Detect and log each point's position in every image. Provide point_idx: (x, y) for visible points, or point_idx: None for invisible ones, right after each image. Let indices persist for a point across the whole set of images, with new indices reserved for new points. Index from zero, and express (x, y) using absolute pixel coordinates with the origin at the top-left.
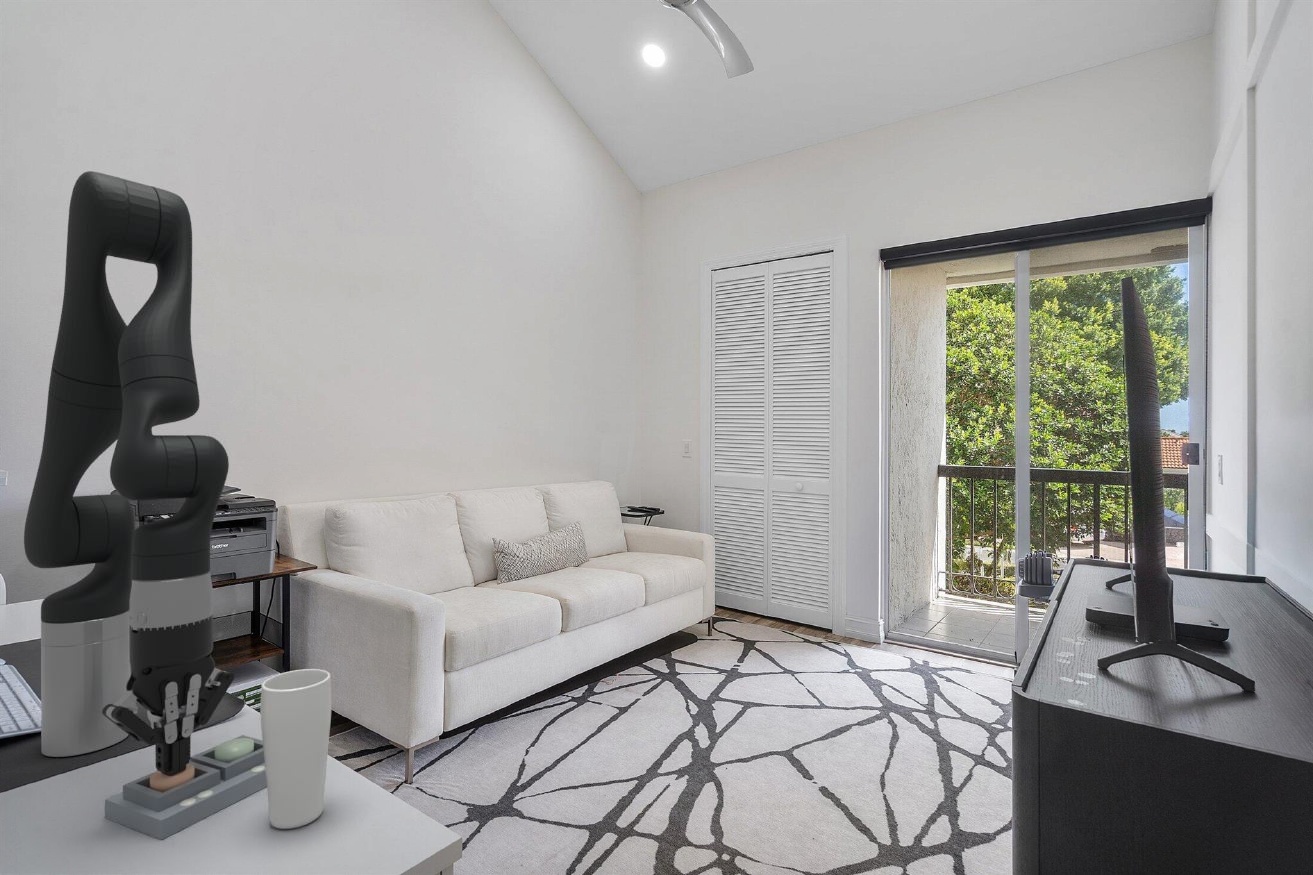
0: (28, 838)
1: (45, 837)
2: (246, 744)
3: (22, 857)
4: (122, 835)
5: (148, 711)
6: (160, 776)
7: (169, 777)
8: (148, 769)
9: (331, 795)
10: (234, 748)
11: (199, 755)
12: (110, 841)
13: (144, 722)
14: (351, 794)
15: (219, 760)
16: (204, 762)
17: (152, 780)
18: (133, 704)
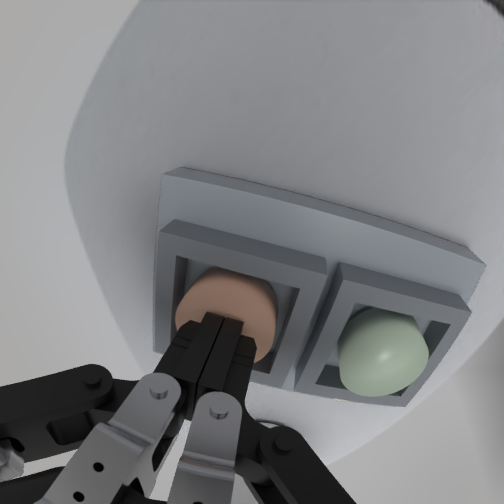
0: (100, 101)
1: (108, 127)
2: (389, 385)
3: (70, 158)
4: (151, 261)
5: (84, 448)
6: (194, 320)
7: None
8: (395, 59)
9: (321, 442)
10: (366, 378)
11: (355, 297)
12: (134, 256)
13: (56, 453)
14: (324, 453)
15: (340, 350)
16: (319, 333)
17: (175, 315)
18: (3, 477)
